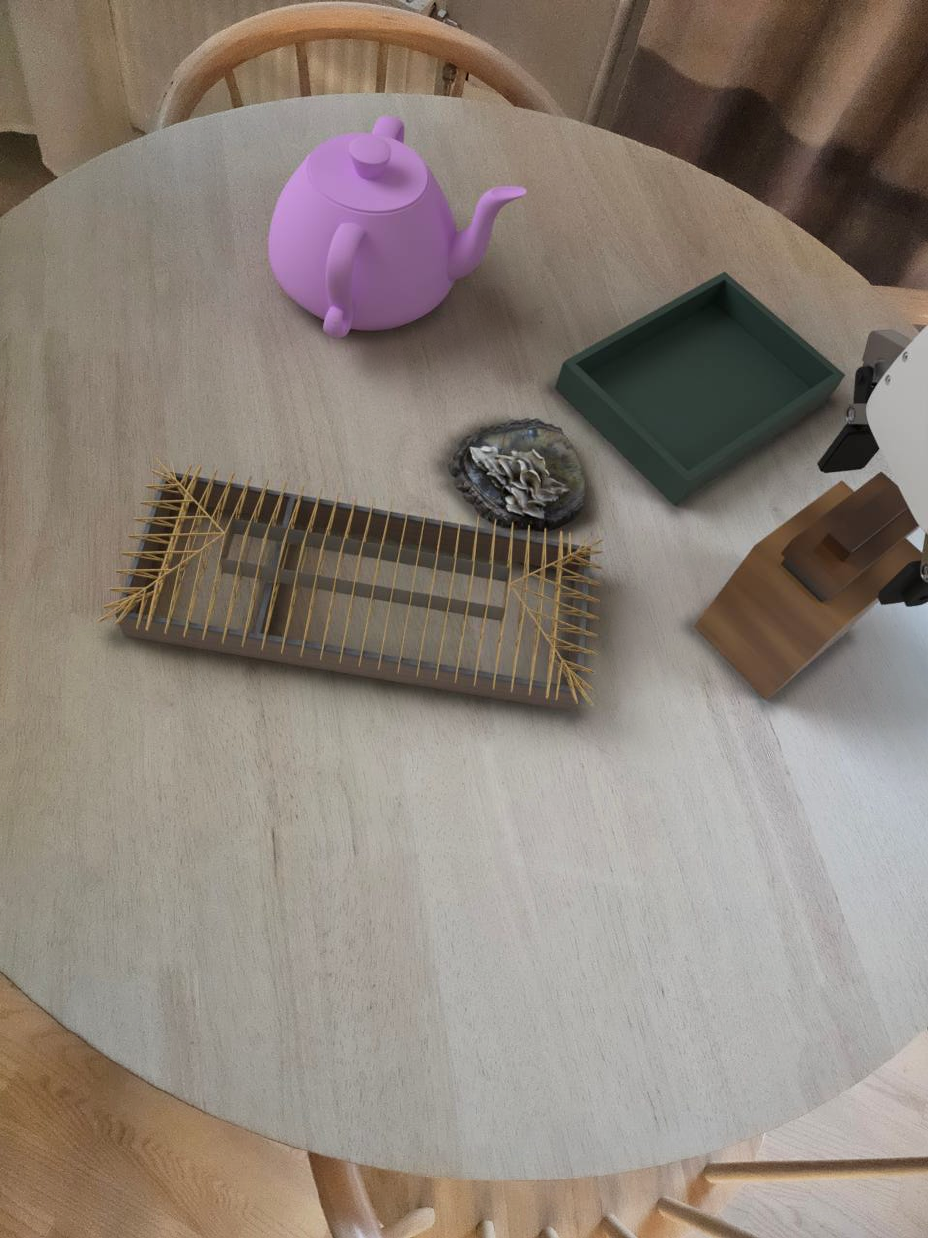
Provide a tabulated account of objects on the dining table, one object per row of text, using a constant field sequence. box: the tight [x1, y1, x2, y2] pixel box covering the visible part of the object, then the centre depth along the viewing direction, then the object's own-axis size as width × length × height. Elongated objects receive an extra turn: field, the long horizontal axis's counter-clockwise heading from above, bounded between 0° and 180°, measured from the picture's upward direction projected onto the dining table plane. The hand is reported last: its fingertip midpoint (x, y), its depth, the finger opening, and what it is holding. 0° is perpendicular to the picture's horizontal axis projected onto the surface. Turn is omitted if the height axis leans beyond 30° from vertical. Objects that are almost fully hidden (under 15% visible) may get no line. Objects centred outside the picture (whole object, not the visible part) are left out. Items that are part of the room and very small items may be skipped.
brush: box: [781, 471, 921, 603], centre depth 64 cm, size 10×4×4 cm, turn 130°
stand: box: [694, 480, 922, 701], centre depth 71 cm, size 10×8×12 cm
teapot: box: [267, 115, 527, 339], centre depth 83 cm, size 22×22×14 cm
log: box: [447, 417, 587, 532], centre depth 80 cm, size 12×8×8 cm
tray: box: [554, 271, 846, 506], centre depth 86 cm, size 22×16×4 cm
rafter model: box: [97, 457, 604, 712], centre depth 70 cm, size 35×14×6 cm, turn 83°
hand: (868, 530), depth 59 cm, fingers open, 9 cm apart
